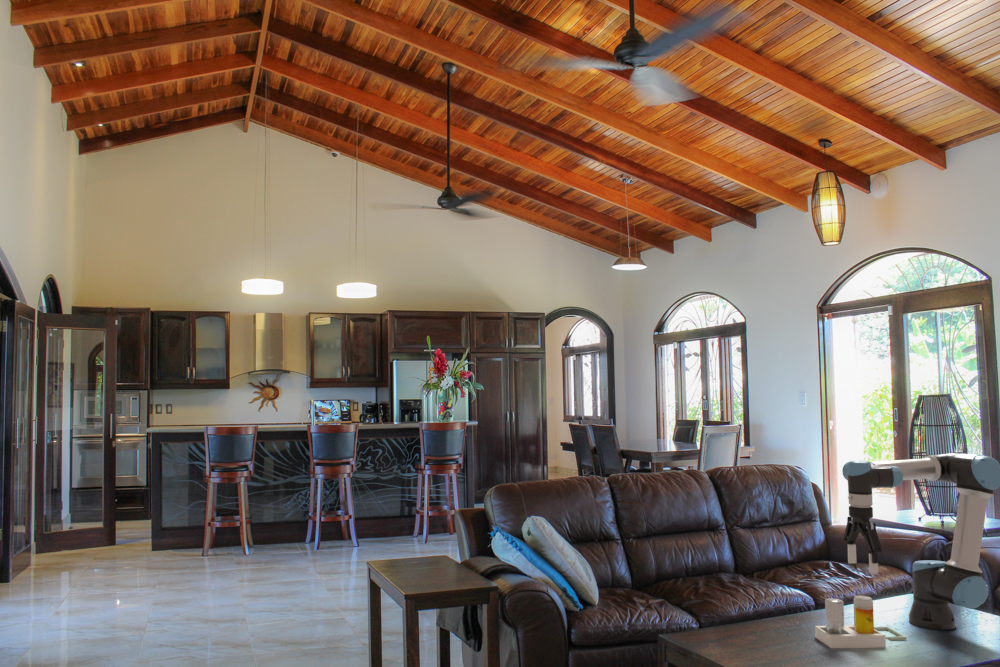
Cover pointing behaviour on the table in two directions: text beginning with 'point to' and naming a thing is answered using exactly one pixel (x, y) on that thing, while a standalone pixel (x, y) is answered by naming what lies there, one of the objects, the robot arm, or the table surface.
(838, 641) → the dock
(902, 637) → the empty picture frame
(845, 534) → the robot arm
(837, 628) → the shiny metal cylinder
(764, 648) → the table surface
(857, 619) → the beer can
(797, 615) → the table surface
